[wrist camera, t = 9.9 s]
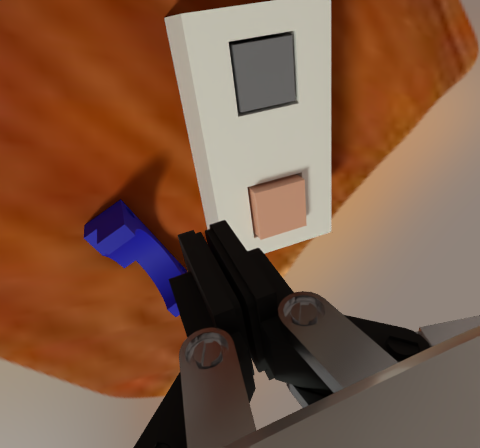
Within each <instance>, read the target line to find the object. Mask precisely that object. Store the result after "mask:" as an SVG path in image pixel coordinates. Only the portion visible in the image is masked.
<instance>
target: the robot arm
mask: <svg viewBox="0 0 480 448" xmlns="http://www.w3.org/2000/svg"><path fill="white" fill-rule="evenodd" d="M205 234H206V239H207V242H206V241H205V239H204V237H203V235H202V233H201V232H199V233H196V234H195V232H194V230H192V231H189V232H185V233H182V234H179V235H178V238H179V242H180V246H181V249H182V253H183V256H184V259H185V263H186V266H187V270H188V272H187V273H184V274H181V275H179V276H176V277H173V278H170V279H168V280H169V283H170V286H171V289H172V292H173V295H174V298H175V301H176V304H177V307H178V310H179V313H180V316H181V319H182V322H183V325H184V328H185V331H186V334H187V337H188V338H187V339H186V340H185V341H184V342H183V344H182V346H181V349H180V353H179V362H180V373H179V375H178V376H177V378H176V379H175V381H174V383H173V384H172V386H171V388H170V389H169V391H168V392H167V394H166V396H165V397H164V399H163V401H162V402H161V404H160V406H159V407H158V409H157V410H156V412H155V414H154V415H153V417H152V419H151V420H150V422H149V423H148V425H147V427H146V428H145V430H144V432H143V433H142V435H141V436H140V438H139V440H138V441H137V443H136V445H135V446H134V448H480V315H479V316H474V317H470V318H464V319H460V320H455V321H449V322H444V323H439V324H434V325H430V326H424V327H420V328H419V331H418V332H414V331H412V330H409V329H406V328H402V327H398V326H392V325H388V324H384V323H379V322H374V321H369V320H365V319H360V318H356V317H351V316H346V315H343V314H342V313H341V312H339V311H338V310H337V309H336V308H335V307H334V306H332V305H331V304H330V303H329V302H328V301H327V300H326V299H324V298H323V297H321V296H320V295H318V294H315V293H312V292H303V291H302V292H295V293H294V292H293V291H292V290H291V288H290V287H289V286H288V284H287V283H286V282H285V280H284V279H283V278H282V276H281V275H280V274H279V273H278V271H277V270H276V269H275V267H274V266H273V265H272V263H271V262H270V261H269V259H268V258H267V257H266V256H265V254H264V253H263V252H262V250H261V249H260V248H255V249H252V250H250V251H247V250H246V249H245V247H244V246H243V244H242V243H241V242H240V240H239V239H238V237H237V236H236V234H235V233H234V232H233V230H232V229H231V227H230V226H229V224H228V223H227V222H226V220H222V221H219V222H216V223H213V224H210V229H208V230H205ZM207 243H208V244H207ZM251 358H252V359H251ZM252 360H253V362H254V364H255V366H256V368H257V370H258V372H262V371H265V372H266V374H267V376H268V378H269V380H271V379H273V378H275V379H276V380H279V381H282V382H285V383H286V384H287V387H288V388H289V390H290V392H291V393H292V395H293V396H294V397H295V398H296V400H297V401H298V402H299V404H300V405H301V406H302V409H300V410H298V411H296V412H294V413H292V414H290V415H288V416H286V417H284V418H282V419H280V420H277V421H275V422H273V423H271V424H269V425H267V426H265V427H263V428H261V429H259V430H257V431H256V427H255V424H254V419H253V415H252V412H251V408H250V404H249V403H250V401H251V398H252V396H253V393H254V391H255V383H254V379H253V375H254V370H253V364H252Z"/></svg>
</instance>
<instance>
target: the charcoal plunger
mask: <svg viewBox="0 0 480 448" xmlns="http://www.w3.org/2000/svg"><path fill="white" fill-rule="evenodd" d="M229 50H230V57H231V65H232V73H233V80H234V88H235V96H236V103H237V111H239V112H246V111H250V110H255V109H259V108H264V107H268V106H273V105H278V104H282V103H287V102H291V101H296V100H295V80H294V60H293V39H292V35H265V36H259V37H253V38H247V39H241V40H235V41H229Z"/></svg>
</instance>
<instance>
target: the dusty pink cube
mask: <svg viewBox="0 0 480 448" xmlns="http://www.w3.org/2000/svg"><path fill="white" fill-rule="evenodd" d="M247 188H248V196H249V203H250V211H251V219H252V226H253V231H254V232H255V234H256V235H257V236H258V237H259V238H260V240H262V239H265V238H268V237H272V236H275V235H278V234H281V233H284V232H288V231H291V230H294V229H297V228H300V227H303V226H307V223H306V199H305V180H304V179H303V178H302V177H300V176H299V175H297V174H294V175H290V176H286V177H283V178H279V179H275V180H272V181H268V182H264V183H261V184H257V185H253V186H250V187H247Z"/></svg>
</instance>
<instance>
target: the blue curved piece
mask: <svg viewBox="0 0 480 448" xmlns="http://www.w3.org/2000/svg"><path fill="white" fill-rule="evenodd" d="M84 239H85V240H86V241H87V242H89V243H90V244H91V245H92V246H93V247H94V248H95V249H96V250H97V251H98V252H99V253H101V254H102V255H103V256H106V257H109V258H111V259H113V260H114V261H116V262H117V263H119V264H120V265H121V266H122V267H123V268H125V267H127V266H128V265H130V264H131V263H132V262H134V261H135V260H136V261H137V262H138V263H139V264H140V265H141V266H142V267H143V269H144V270H145V271H146V272H147V273H148V275H149V276H150V277H151V279H152V280H153V282H154V283H155V285H156V286H157V288H158V290H159V291H160V293H161V295H162V297H163V299H164V301H165V304H166V306H167V310H168V311H170V312H171V313H172V314H173V315H174V316H175V317H177V316H178V315H179V314H180V313H179V310H178V307H177V304H176V301H175V298H174V295H173V292H172V289H171V286H170V283H169V280H168V279H170V278H173V277H176V276H179V275H181V274H184V273H187V270H186V269H185V268H184V267H183V266H182V265H181V264H180V263H179V262H178V261H177V260H176V259H175V257H174V256H173V255H172V254H171V253H170V252H169V251H168V250H167V249H166V248H165V247H164V246H163V245H162V243H161V242H160V241H159V240H158V239H157V238H156V237H155V236H154V235H153V234H152V233H151V232H150V230H149V229H148V228H147V227H146V226H145V225H144V224H143V223H142V222H141V221H140V220H139V219H138V218H137V216H136V215H135V214H134V213H133V212H132V211H131V210H130V209H129V208H128V207H127V206H126V205H125V203H124V202H123V201H122V200H121V199H120V200H119V201H118V202H116V203H115V204H113V205H112V206H111V207H109V208H108V209H107V210H105V211H104V212H102V213H101V214H100V215H98V216H97V217H95V218H94V219H93V220H91V221H90V222H88V223H87V224H86V225H85V226H84Z"/></svg>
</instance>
